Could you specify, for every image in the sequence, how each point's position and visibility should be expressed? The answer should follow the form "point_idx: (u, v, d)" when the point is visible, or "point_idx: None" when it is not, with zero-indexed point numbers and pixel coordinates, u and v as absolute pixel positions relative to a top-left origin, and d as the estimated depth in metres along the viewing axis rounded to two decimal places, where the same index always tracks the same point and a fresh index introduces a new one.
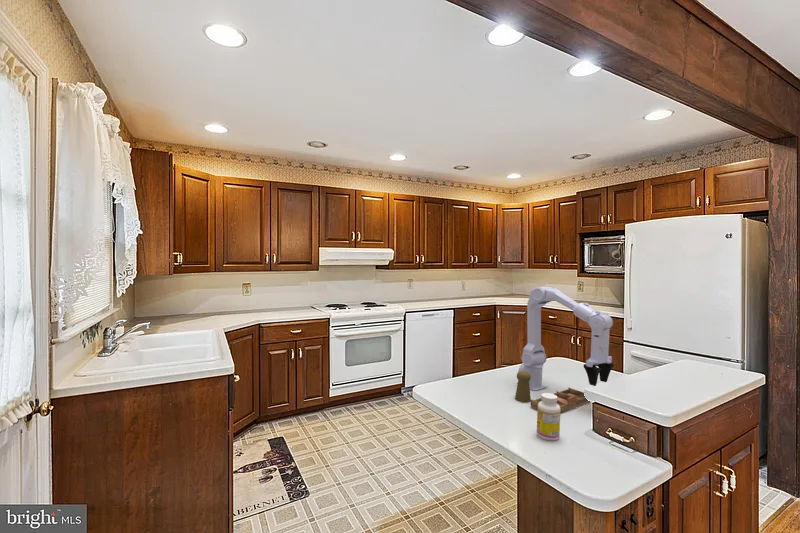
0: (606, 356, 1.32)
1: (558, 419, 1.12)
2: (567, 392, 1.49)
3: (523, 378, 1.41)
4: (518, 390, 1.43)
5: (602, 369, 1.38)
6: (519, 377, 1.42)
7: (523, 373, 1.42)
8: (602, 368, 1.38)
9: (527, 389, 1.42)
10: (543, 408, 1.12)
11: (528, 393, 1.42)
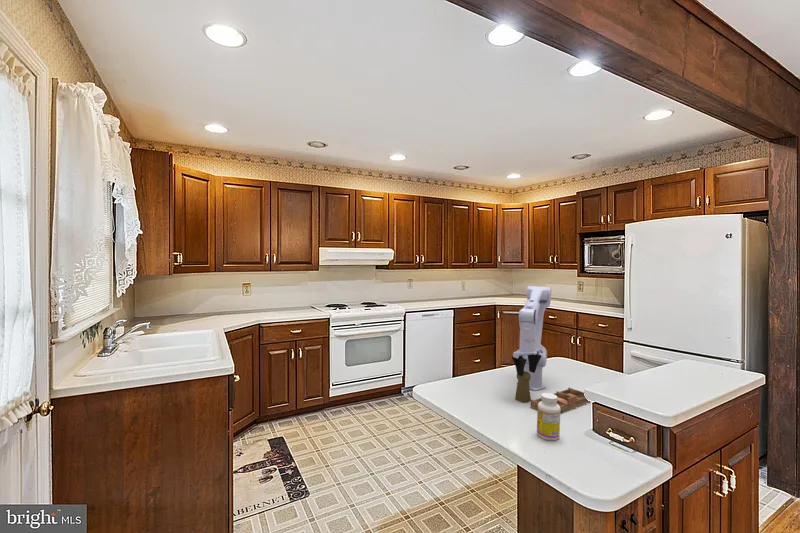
0: (532, 348, 1.40)
1: (558, 419, 1.12)
2: (567, 392, 1.49)
3: (523, 378, 1.41)
4: (518, 390, 1.43)
5: (531, 360, 1.46)
6: (519, 377, 1.42)
7: (523, 373, 1.42)
8: (531, 359, 1.46)
9: (527, 389, 1.41)
10: (543, 408, 1.12)
11: (528, 393, 1.42)
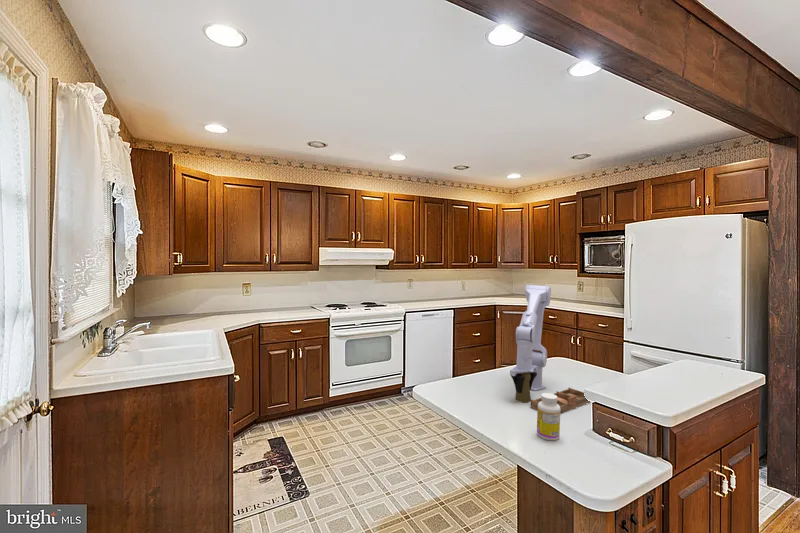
0: (529, 365, 1.41)
1: (558, 419, 1.12)
2: (567, 392, 1.49)
3: None
4: None
5: None
6: None
7: (523, 373, 1.42)
8: None
9: (527, 389, 1.42)
10: (543, 408, 1.12)
11: (528, 393, 1.42)
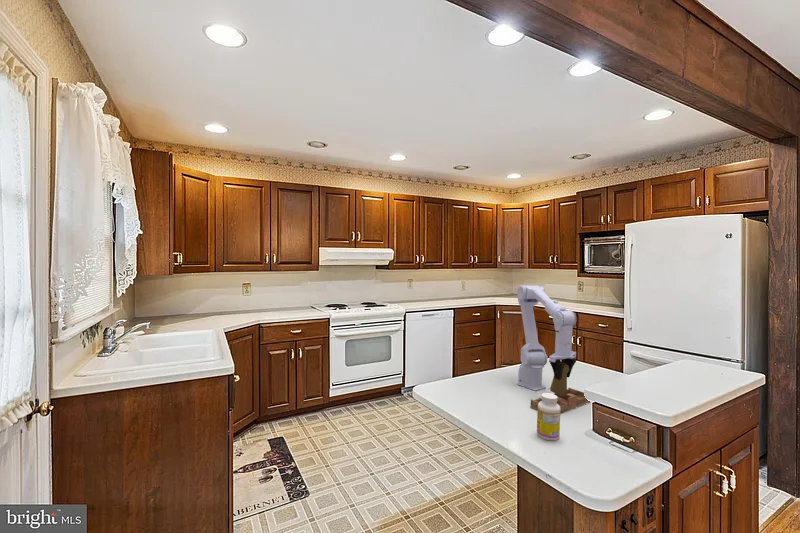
0: (569, 351, 1.36)
1: (558, 419, 1.12)
2: (567, 392, 1.49)
3: None
4: (555, 382, 1.39)
5: None
6: None
7: None
8: None
9: (565, 381, 1.38)
10: (543, 408, 1.12)
11: (565, 385, 1.38)
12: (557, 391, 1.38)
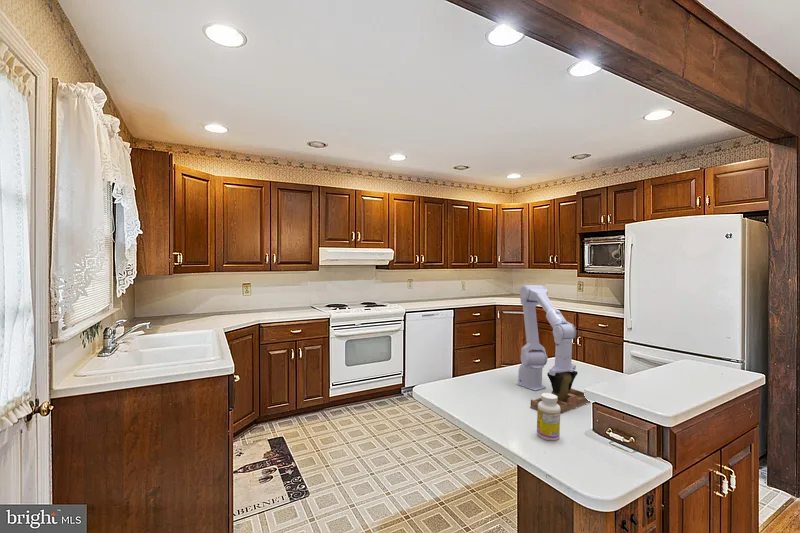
0: (569, 365, 1.36)
1: (558, 419, 1.12)
2: None
3: (565, 380, 1.36)
4: None
5: None
6: None
7: (565, 375, 1.37)
8: None
9: (566, 391, 1.37)
10: (543, 408, 1.12)
11: (566, 395, 1.38)
12: None
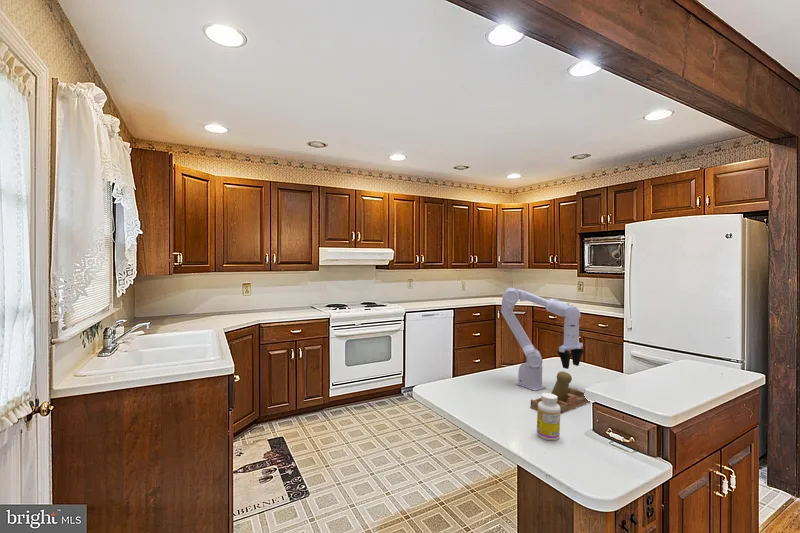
0: (576, 342, 1.51)
1: (558, 419, 1.12)
2: None
3: (565, 380, 1.36)
4: (556, 390, 1.38)
5: (574, 354, 1.57)
6: (561, 379, 1.37)
7: (565, 375, 1.37)
8: (574, 353, 1.57)
9: (566, 391, 1.37)
10: (543, 408, 1.12)
11: (566, 395, 1.38)
12: None
